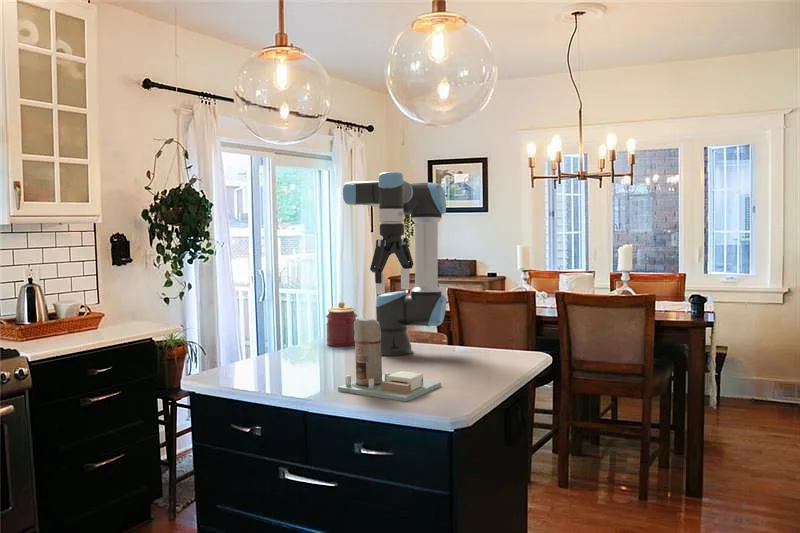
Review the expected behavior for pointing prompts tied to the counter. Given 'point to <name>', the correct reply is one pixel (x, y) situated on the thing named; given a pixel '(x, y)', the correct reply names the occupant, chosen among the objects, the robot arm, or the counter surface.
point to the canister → (341, 325)
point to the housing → (407, 378)
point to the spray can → (368, 351)
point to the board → (393, 395)
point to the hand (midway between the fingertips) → (393, 291)
